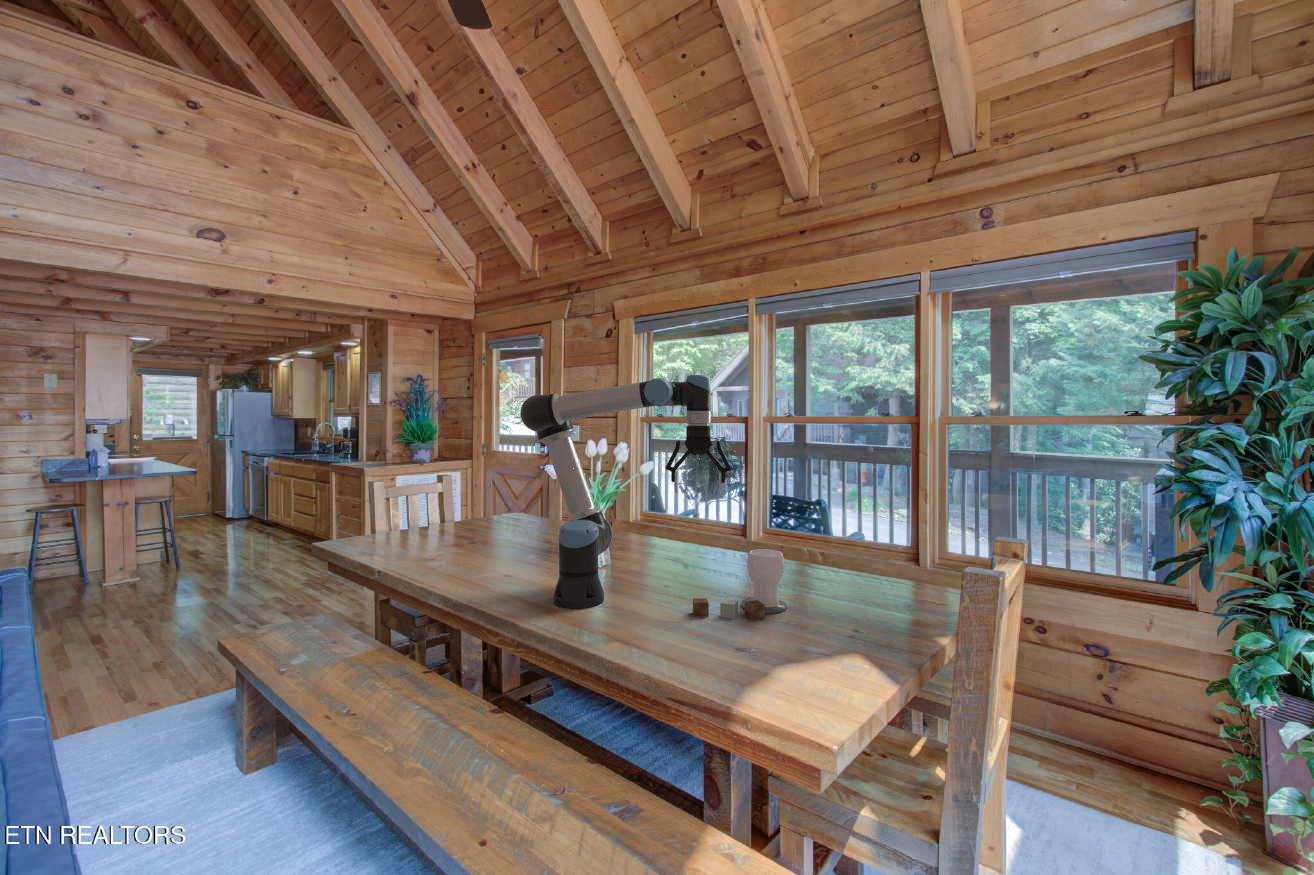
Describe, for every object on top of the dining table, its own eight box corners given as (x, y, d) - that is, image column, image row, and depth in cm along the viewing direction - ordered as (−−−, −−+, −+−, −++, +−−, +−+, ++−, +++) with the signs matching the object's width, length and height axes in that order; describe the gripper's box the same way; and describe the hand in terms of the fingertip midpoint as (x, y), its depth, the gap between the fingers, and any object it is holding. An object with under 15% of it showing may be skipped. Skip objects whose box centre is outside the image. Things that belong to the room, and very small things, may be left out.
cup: (782, 598, 176) (782, 549, 176) (785, 610, 166) (786, 557, 165) (746, 597, 177) (746, 548, 177) (748, 608, 167) (748, 556, 166)
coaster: (741, 612, 166) (741, 609, 166) (741, 598, 179) (741, 596, 179) (788, 614, 164) (788, 611, 164) (784, 600, 177) (784, 597, 177)
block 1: (694, 617, 162) (694, 602, 162) (692, 612, 166) (692, 598, 166) (708, 616, 163) (708, 602, 162) (706, 612, 167) (706, 598, 166)
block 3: (751, 620, 160) (751, 605, 160) (744, 615, 164) (744, 601, 164) (764, 618, 161) (764, 604, 161) (757, 614, 165) (757, 600, 165)
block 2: (720, 617, 162) (720, 602, 162) (724, 612, 166) (724, 598, 166) (734, 619, 161) (734, 604, 161) (738, 614, 164) (738, 600, 164)
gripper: (657, 424, 180) (656, 493, 181) (739, 425, 177) (738, 495, 177) (660, 424, 187) (659, 490, 188) (738, 425, 184) (738, 492, 185)
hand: (698, 493), depth 183 cm, fingers open, 13 cm apart
